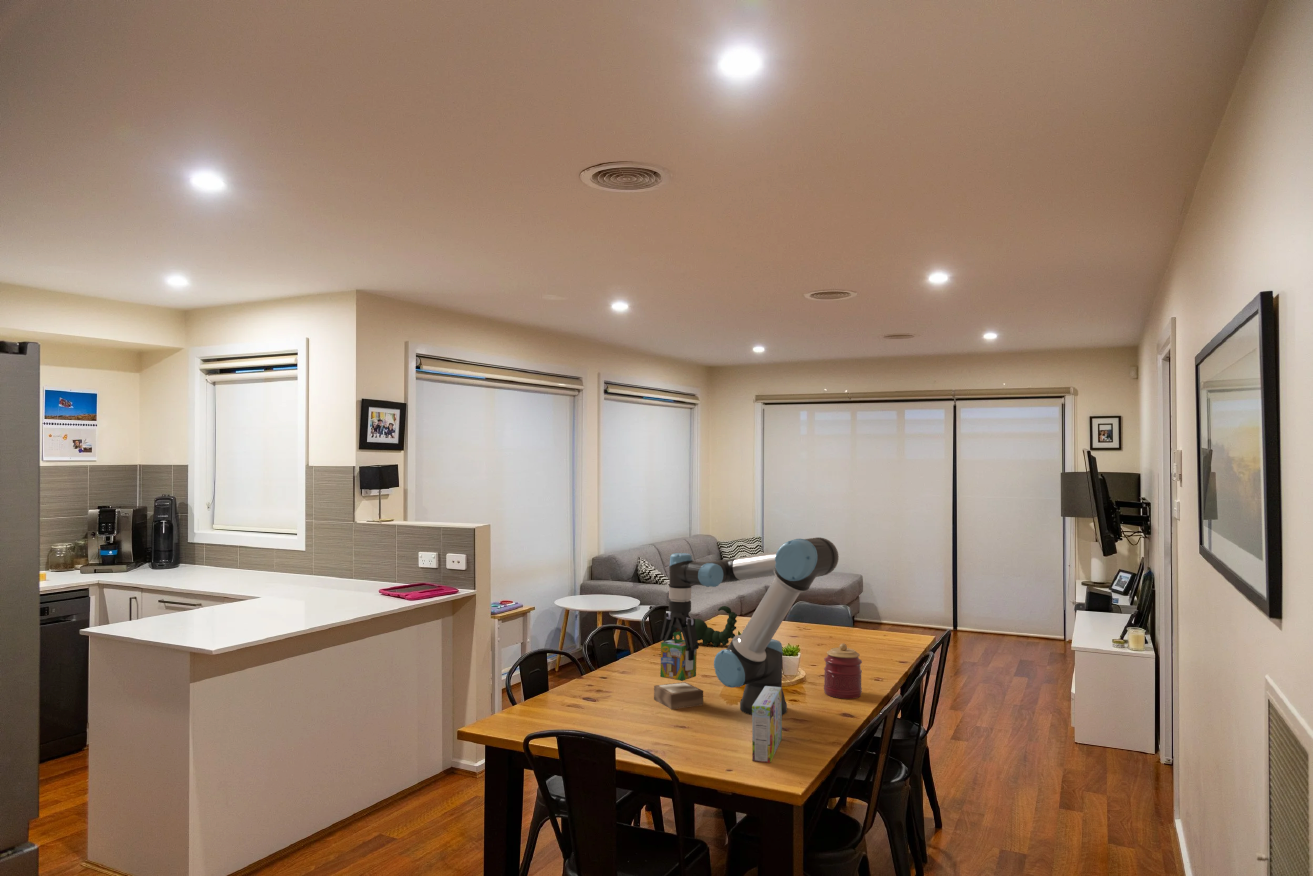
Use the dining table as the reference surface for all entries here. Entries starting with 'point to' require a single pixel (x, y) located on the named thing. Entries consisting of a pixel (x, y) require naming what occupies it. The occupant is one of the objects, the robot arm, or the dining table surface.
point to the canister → (843, 673)
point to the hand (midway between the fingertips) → (678, 666)
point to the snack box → (766, 724)
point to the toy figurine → (715, 636)
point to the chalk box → (675, 659)
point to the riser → (678, 695)
